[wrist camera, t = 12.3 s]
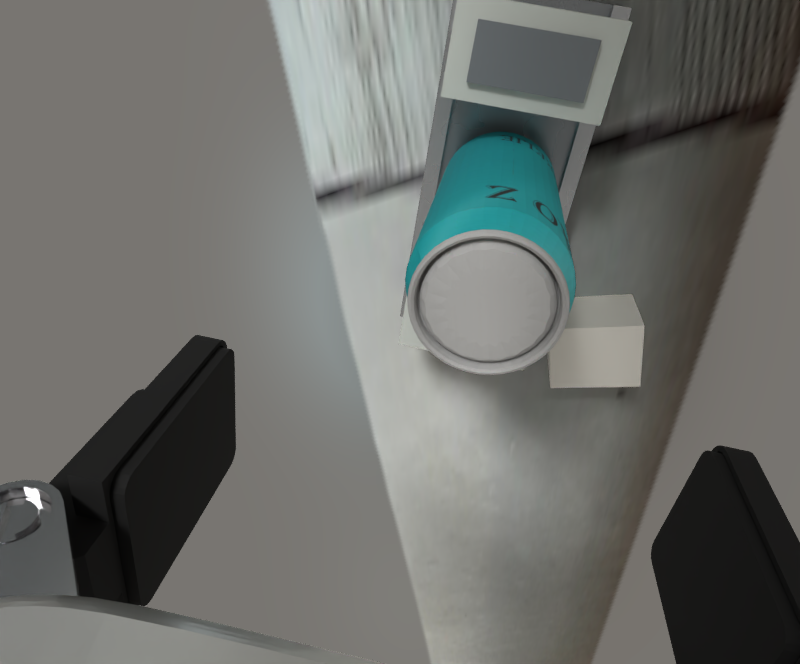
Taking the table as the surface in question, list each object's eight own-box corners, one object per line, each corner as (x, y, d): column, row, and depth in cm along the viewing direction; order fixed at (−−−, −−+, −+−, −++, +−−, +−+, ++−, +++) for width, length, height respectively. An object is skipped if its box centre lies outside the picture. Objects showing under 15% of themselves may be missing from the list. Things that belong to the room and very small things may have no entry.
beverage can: (513, 249, 33) (510, 410, 20) (426, 196, 33) (367, 329, 20) (576, 162, 30) (620, 286, 18) (483, 102, 30) (457, 186, 17)
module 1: (466, -8, 27) (457, -9, 23) (615, 18, 27) (634, 22, 23) (450, 83, 30) (439, 97, 25) (588, 108, 29) (601, 127, 25)
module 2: (545, 297, 36) (549, 329, 33) (631, 293, 35) (644, 325, 32) (546, 352, 38) (550, 388, 35) (628, 350, 37) (640, 386, 34)
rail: (460, -21, 29) (456, -22, 27) (624, 7, 28) (632, 7, 26) (405, 301, 38) (400, 316, 36) (528, 327, 37) (528, 343, 35)
